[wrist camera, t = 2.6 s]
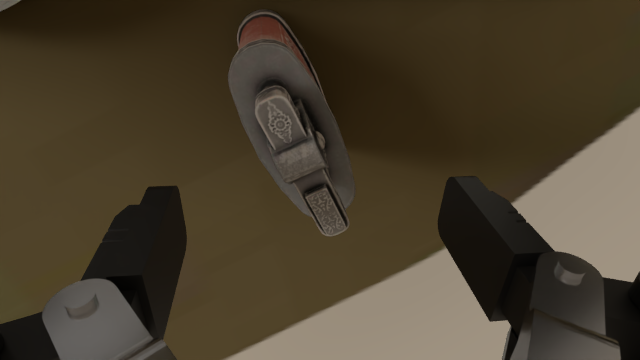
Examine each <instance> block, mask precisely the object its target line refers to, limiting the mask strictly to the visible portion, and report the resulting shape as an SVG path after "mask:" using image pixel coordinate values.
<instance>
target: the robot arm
mask: <svg viewBox="0 0 640 360" xmlns="http://www.w3.org/2000/svg"><path fill="white" fill-rule="evenodd" d="M438 230H439V234H440V237H441V239H442V241H443V243H444V244H445V246H446V248H447V249H448V251H449V253H450V254H451V256H452V258H453V260H454V261H455V263H456V265H457V266H458V268H459V270H460V271H461V273H462V275H463V277H464V278H465V280H466V282H467V283H468V285H469V287H470V288H471V290H472V292H473V294H474V295H475V297H476V299H477V300H478V302H479V304H480V306H481V307H482V309H483V311H484V312H485V314H486V316H487V317H488V319H489V321H503V320H508V322H509V323H510V325H511V327H510V329H509V331H508V334H507V338H506V343H505V347H504V352H503V356H502V360H640V272H639V273H638V275H637V277H636V279H635V280H634V282H627V281H621V280H615V279H610V278H603V277H602V276H601V274H600V273H599V271H598V270H597V269H596V268H595V267H593V266H592V265H591V264H589V263H588V262H587V261H585V260H583V259H581V258H579V257H577V256H574V255H571V254H568V253H564V252H555V251H554V250H553V249H552V248H551V247H550V246H549V245H548V243H547V242H546V241H545V240H544V239H543V238H542V237H541V236H540V235H539V234H538V233H537V232H536V231H535V230H534V228H533V227H532V226H531V225H530V224H529V223H526V220H525V219H524V218H523V216H521V214H518V211H517V210H516V209H515V208H514V207H513V206H512V205H511V203H510V202H509V201H508V200H506V199H504V198H503V197H501V196H499V195H498V194H496V193H495V192H493V191H489V190H488V189H487V188H486V187H485V186H484V185H483V183H482V182H481V181H480V180H479V179H478V178H477V177H475V176H462V177H450V178H449V179H448V180H447V182H446V186H445V190H444V195H443V199H442V204H441V208H440V213H439V217H438ZM102 241H103V242H102V243H101V244H100V245H99V247H98V249H97V251H96V253H95V255H94V257H93V258H92V260H91V262H90V264H89V266H88V268H87V270H86V271H85V273H84V275H83V277H82V279H81V281H79V282H76V283H74V284H71V285H69V286H67V287H65V288H64V289H62V290H60V291H59V292H58V293H56V294H55V295H54V296H53V297H52V298H51V299H50V300H49V301H48V302H47V304H46V305H45V307H44V309H43V312H40V313H37V314H34V315H31V316H27V317H24V318H20V319H17V320H13V321H10V322H7V323H3V324H0V360H177V359H176V357H175V356H174V355H173V353H172V352H171V350H170V349H169V348H168V346H167V345H166V344H165V342H164V341H163V338H164V334H165V330H166V326H167V322H168V318H169V314H170V310H171V306H172V302H173V298H174V294H175V290H176V287H177V283H178V279H179V275H180V271H181V267H182V263H183V259H184V255H185V251H186V243H187V235H186V227H185V221H184V215H183V210H182V204H181V199H180V193H179V189H178V187H177V186H156V187H148V188H147V190H146V192H145V194H144V197H143V199H142V201H141V203H140V205H128V206H127V207H126V208H125V209H124V210H122V211H121V212H120V213H119V214H118V215H116V216H115V218H114V220H113V221H112V223H111V225H110V227H109V229H108V232H106V234H105V236H104V238H103V240H102Z"/></svg>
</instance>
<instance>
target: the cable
mask: <svg viewBox="0 0 640 360" xmlns="http://www.w3.org/2000/svg"><path fill="white" fill-rule="evenodd" d="M19 1H21V0H0V11H2V10H4V9H7V8H9V7H10V6H12V5H14V4H16V3H18V2H19Z"/></svg>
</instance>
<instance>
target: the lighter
mask: <svg viewBox="0 0 640 360" xmlns="http://www.w3.org/2000/svg"><path fill="white" fill-rule="evenodd" d="M237 43H238V47H239V49H238V52H237V53H236V54H235V56H234V57H233V59H232V61H231V65H230V69H229V73H228V82H229V88H230V91H231V94H232V96H233V99H234V102H235V105H236V108H237V111H238V113H239V116H240V119H241V122H242V125H243V127H244V129H245V131H246V133H247V135H248V137H249V139H250V141H251V143H252V145H253V147H254V149H255V151H256V153H257V155H258V157H259V159H260V160H261V162H262V163H263V165H264V166H265V167H266V169H267V170H268V172H269V173H270V175H271V176H272V177H273V179H274V180H275V182H276V183H277V184H278V186H279V187H280V189H281V190H282V191H283V192H284V193H285V194H286V195H287V196H288V197H289V198H290V200H291V201H292V202H293V203H294V204H295V205H296V206H297V207H298V208H299V209H300V210H301V211H302V212H303V213H304V214H306V215H307V216H311V217H313V219H314V221H315V223H316V224H317V226H318V228H319V230H320V231H321V232H322V234H324V235H326V236H334V235H337V234H339V233H341V232H343V231H345V230H346V229H347V228H348V227H349V220H348V217H347V213H346V210H345V209H346V208H347V207H348V206H349V205H350V204H351V203H352V201H353V199H354V197H355V183H354V178H353V173H352V169H351V164H350V159H349V156H348V153H347V150H346V147H345V144H344V141H343V139H342V136H341V133H340V130H339V127H338V124H337V122H336V120H335V117H334V115H333V114H332V112H331V110H330V108H329V106H328V104H327V102H326V99H325V96H324V93H323V90H322V88H321V85H320V82H319V79H318V77H317V74H316V71H315V69H314V67H313V66H312V64H311V62H310V60H309V58H308V56H307V54H306V52H305V51H304V49H303V47H302V45H301V43H300V42H299V40H298V39H297V37H296V36H295V35H294V33H293V32H292V30H291V29H290V27H289V26H288V24H287V23H286V22H285V20H284V19H283V18H282V17H281V16H280V15H279V14H278V13H276V12H274V11H271V10H258V11H255V12H252V13H250V14H249V15H248V16H246V17H245V18H244V19H243V21H242V22H241V24H240V26H239V29H238V33H237Z"/></svg>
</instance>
